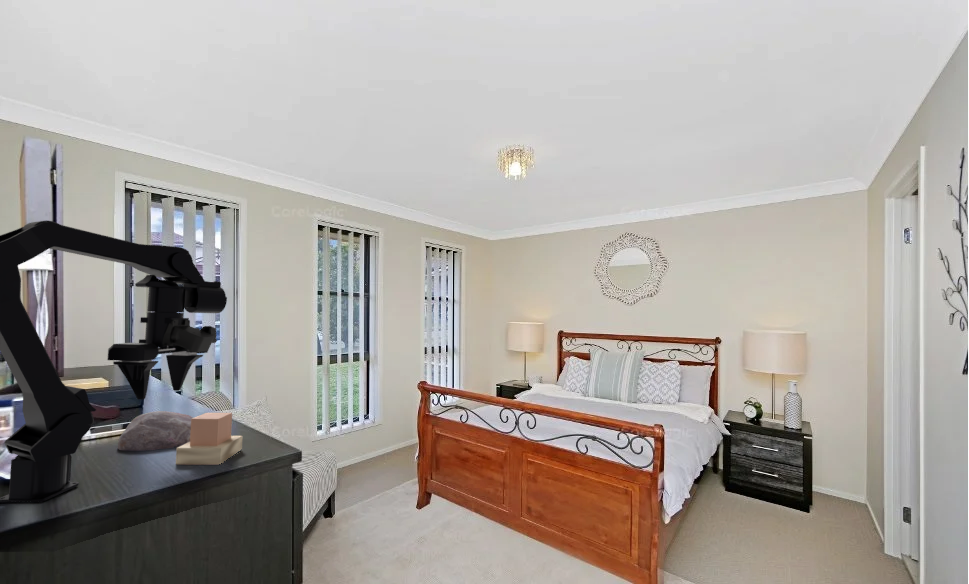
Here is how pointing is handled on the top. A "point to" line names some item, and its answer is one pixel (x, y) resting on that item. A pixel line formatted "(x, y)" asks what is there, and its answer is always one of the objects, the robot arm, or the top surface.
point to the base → (208, 452)
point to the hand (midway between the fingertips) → (159, 394)
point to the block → (210, 429)
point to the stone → (156, 431)
